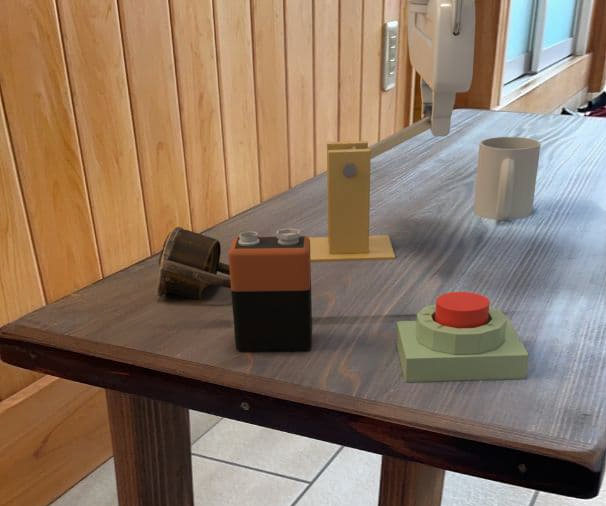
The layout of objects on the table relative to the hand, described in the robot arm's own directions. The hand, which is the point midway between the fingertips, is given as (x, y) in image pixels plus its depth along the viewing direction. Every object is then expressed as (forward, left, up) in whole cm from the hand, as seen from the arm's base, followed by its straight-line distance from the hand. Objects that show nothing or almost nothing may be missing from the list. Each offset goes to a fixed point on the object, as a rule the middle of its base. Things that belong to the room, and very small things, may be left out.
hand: (434, 128), depth 90 cm
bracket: (+9, 0, -13) cm, 16 cm away
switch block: (+1, +29, -13) cm, 32 cm away
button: (+1, +29, -10) cm, 31 cm away
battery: (+17, +24, -14) cm, 32 cm away
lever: (+4, 0, -2) cm, 5 cm away
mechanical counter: (+23, +13, -14) cm, 30 cm away
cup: (-11, -12, -14) cm, 21 cm away
